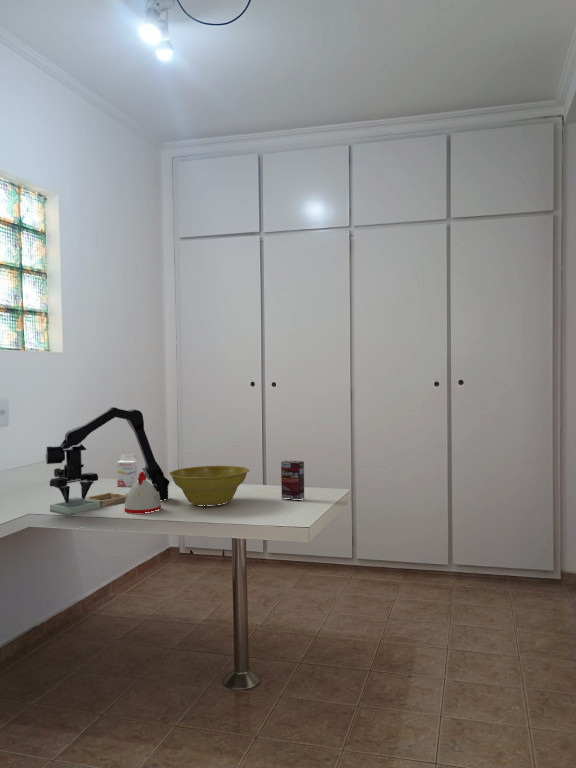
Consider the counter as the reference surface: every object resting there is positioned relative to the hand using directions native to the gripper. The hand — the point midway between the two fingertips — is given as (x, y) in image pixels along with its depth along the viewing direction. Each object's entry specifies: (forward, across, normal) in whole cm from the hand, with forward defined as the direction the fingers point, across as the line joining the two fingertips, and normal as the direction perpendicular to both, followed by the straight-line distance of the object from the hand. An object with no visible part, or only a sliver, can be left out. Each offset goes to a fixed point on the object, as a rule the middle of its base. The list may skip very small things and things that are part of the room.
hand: (75, 501), depth 262 cm
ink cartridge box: (+4, -46, -25) cm, 52 cm away
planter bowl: (+4, -37, +38) cm, 53 cm away
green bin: (+3, 0, 0) cm, 3 cm away
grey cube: (+3, 0, 0) cm, 3 cm away
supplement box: (+4, -61, +62) cm, 87 cm away
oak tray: (+3, -15, 0) cm, 15 cm away
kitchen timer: (+4, -14, +24) cm, 28 cm away
